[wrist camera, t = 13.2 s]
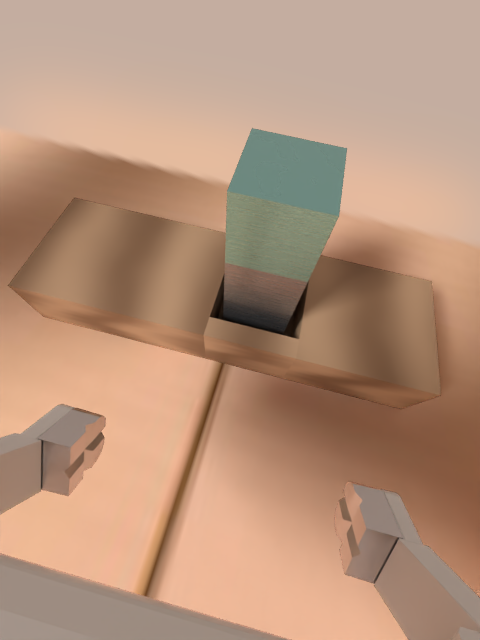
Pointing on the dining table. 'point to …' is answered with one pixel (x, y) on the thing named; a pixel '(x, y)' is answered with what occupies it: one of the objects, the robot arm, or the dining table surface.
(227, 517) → the dining table surface
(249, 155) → the teal square peg
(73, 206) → the wooden peg hole block
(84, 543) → the dining table surface
